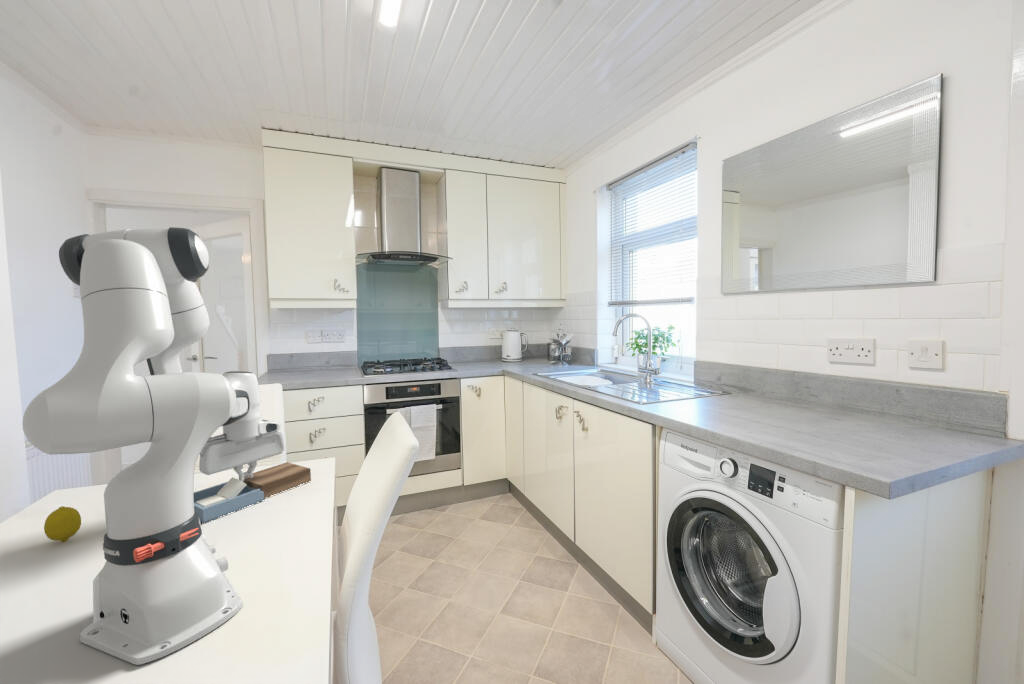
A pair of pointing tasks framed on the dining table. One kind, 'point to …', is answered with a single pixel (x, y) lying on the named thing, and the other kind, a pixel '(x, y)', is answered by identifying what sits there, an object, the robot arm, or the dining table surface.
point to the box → (225, 502)
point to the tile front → (211, 500)
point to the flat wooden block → (279, 478)
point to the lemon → (62, 524)
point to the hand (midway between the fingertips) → (246, 479)
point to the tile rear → (232, 488)
